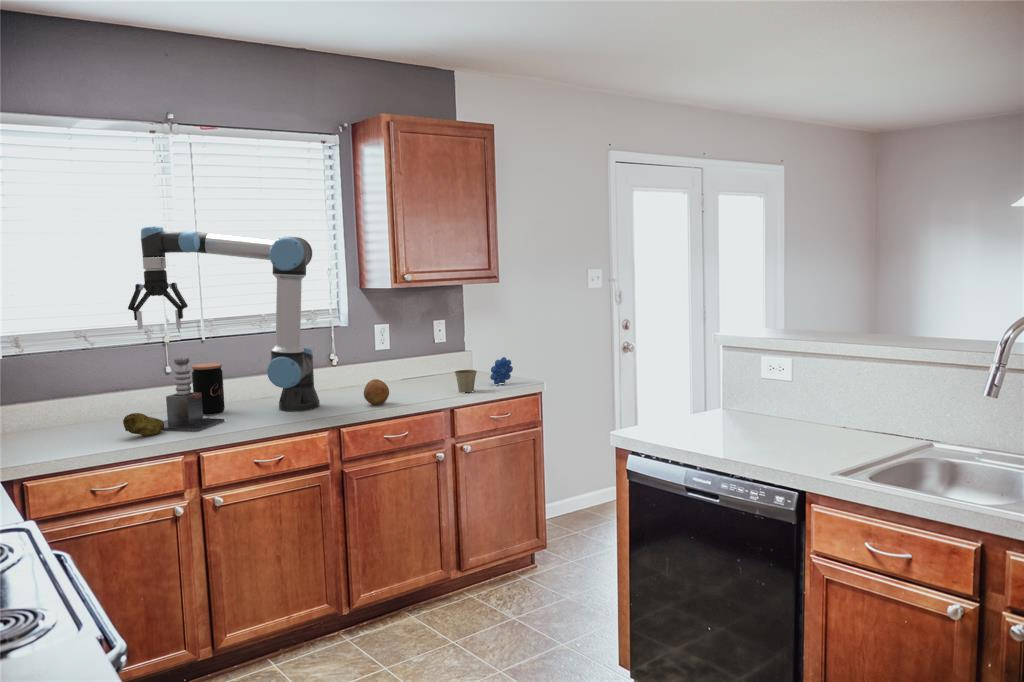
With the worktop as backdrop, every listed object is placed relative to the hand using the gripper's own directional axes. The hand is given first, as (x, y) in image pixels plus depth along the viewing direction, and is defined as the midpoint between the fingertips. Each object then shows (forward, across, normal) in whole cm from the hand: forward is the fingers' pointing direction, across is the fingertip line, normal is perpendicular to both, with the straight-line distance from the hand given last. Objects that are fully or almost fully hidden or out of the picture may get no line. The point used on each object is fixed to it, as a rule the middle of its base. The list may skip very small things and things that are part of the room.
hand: (159, 328), depth 293 cm
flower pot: (+34, -110, -33) cm, 120 cm away
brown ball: (+34, -75, -11) cm, 83 cm away
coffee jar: (+33, -14, -6) cm, 36 cm away
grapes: (+34, -125, -50) cm, 139 cm away
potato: (+33, -4, +30) cm, 45 cm away
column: (+31, -12, +16) cm, 37 cm away
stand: (+33, -12, +16) cm, 38 cm away
